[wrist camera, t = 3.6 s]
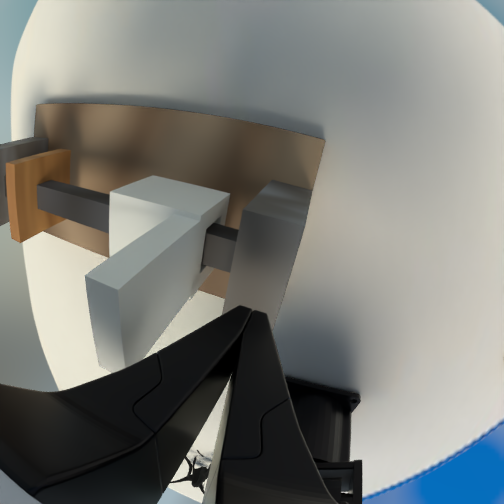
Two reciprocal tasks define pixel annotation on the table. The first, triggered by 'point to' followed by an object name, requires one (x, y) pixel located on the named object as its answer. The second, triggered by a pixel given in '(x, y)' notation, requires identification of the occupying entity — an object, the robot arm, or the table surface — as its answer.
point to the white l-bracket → (149, 264)
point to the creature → (196, 475)
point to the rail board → (171, 167)
